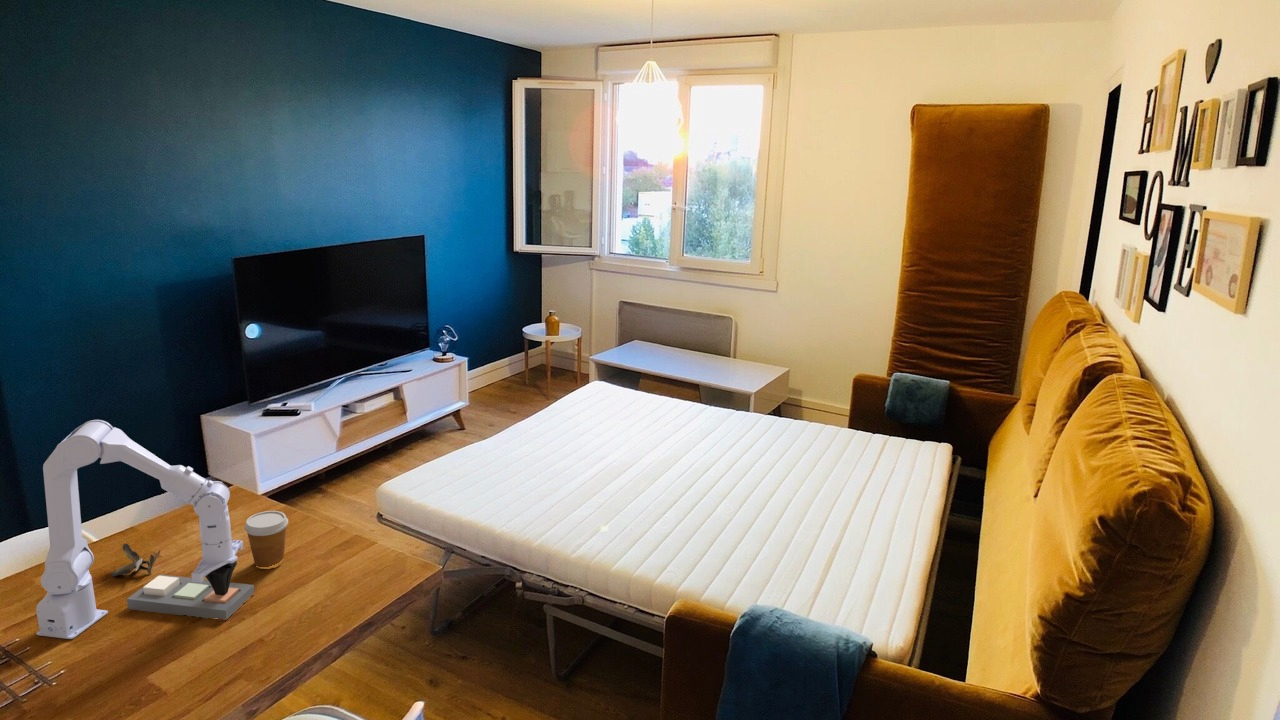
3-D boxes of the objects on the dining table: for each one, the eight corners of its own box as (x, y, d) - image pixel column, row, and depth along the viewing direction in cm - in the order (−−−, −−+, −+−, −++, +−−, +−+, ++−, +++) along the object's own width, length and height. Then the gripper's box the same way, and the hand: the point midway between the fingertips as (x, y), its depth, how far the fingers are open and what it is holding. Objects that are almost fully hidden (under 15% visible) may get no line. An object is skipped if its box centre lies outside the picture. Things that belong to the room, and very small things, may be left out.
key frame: (226, 620, 158) (225, 610, 158) (128, 609, 160) (126, 598, 159) (254, 594, 168) (253, 585, 167) (161, 583, 170) (160, 574, 169)
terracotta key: (225, 611, 161) (224, 600, 160) (205, 608, 161) (203, 598, 160) (239, 598, 165) (238, 588, 165) (219, 596, 166) (218, 586, 165)
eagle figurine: (165, 557, 178) (126, 550, 177) (157, 544, 173) (118, 536, 172) (147, 587, 173) (107, 579, 172) (139, 574, 168) (98, 566, 167)
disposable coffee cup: (239, 565, 179) (235, 521, 176) (274, 549, 187) (271, 506, 184) (264, 577, 175) (261, 532, 171) (299, 560, 183) (296, 516, 180)
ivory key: (165, 600, 162) (163, 589, 161) (144, 597, 162) (143, 587, 161) (180, 587, 166) (179, 577, 166) (160, 585, 167) (159, 575, 166)
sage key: (195, 607, 161) (194, 597, 161) (174, 605, 162) (173, 594, 161) (209, 595, 166) (208, 585, 165) (189, 592, 166) (188, 582, 166)
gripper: (211, 557, 152) (217, 614, 155) (254, 524, 166) (258, 577, 169) (179, 553, 152) (186, 611, 156) (224, 521, 166) (229, 574, 170)
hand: (221, 593), depth 163 cm, fingers closed, pressing on terracotta key
